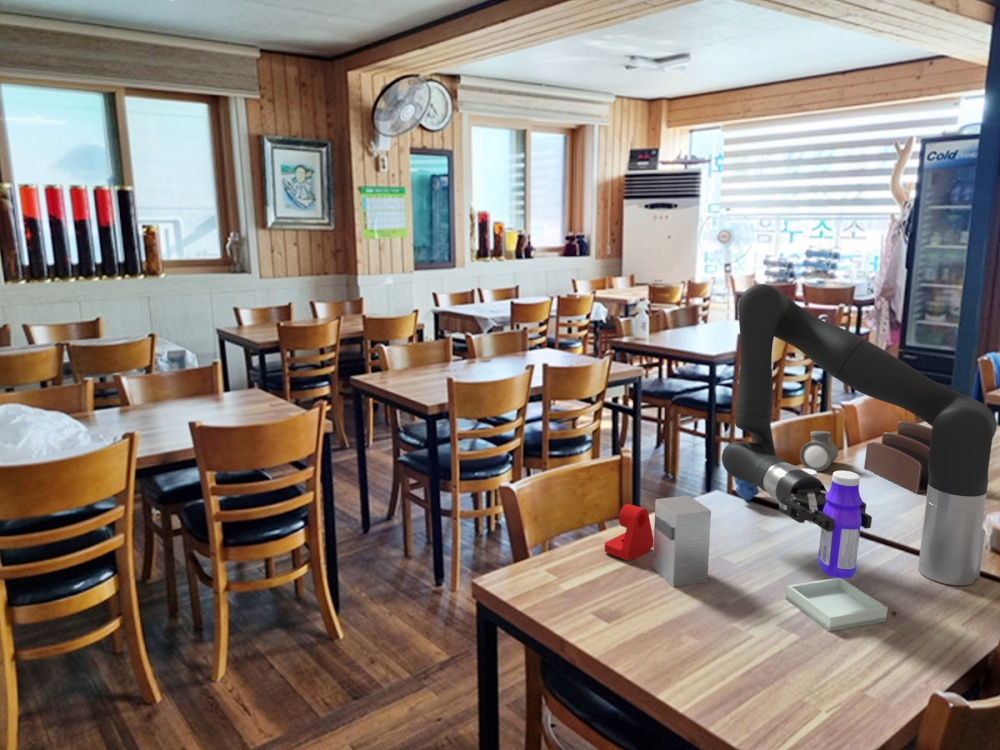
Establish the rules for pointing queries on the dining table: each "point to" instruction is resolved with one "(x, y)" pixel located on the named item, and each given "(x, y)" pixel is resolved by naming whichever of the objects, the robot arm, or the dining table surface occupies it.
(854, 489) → the bottle
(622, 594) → the dining table surface
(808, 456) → the pipe fitting
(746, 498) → the grapes
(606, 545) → the bracket
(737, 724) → the dining table surface
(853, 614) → the tray
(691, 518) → the dispenser
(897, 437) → the letter holder
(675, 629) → the dining table surface
